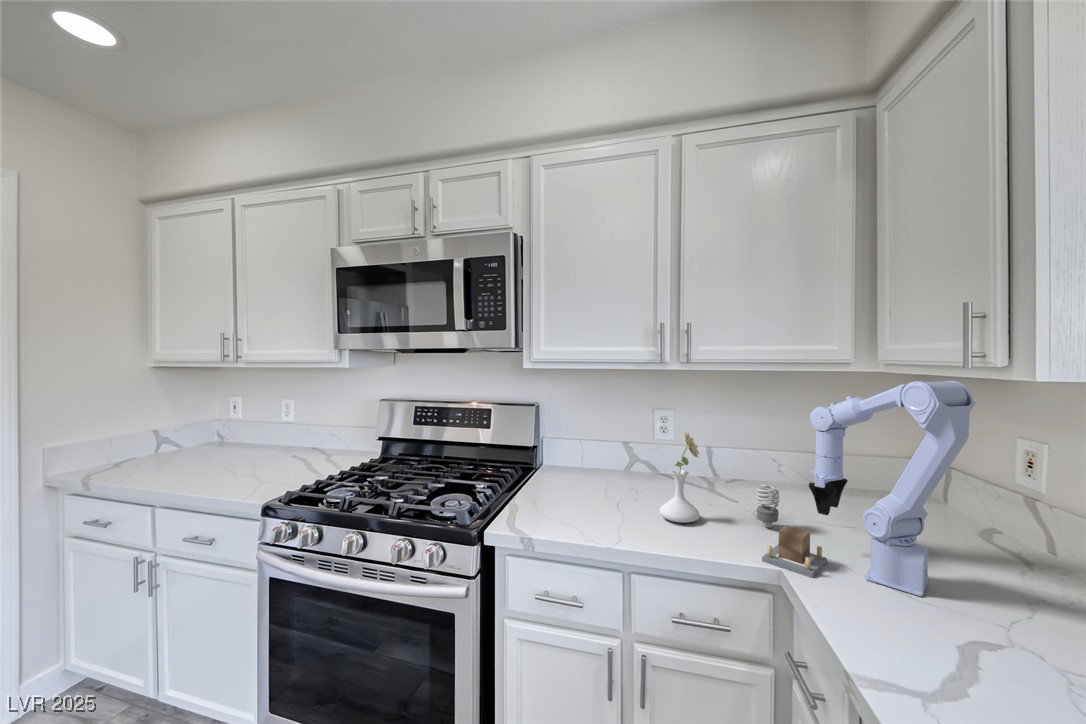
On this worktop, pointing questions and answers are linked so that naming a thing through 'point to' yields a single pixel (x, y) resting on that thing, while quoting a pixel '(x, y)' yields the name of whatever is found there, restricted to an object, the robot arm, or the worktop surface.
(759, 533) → the worktop surface
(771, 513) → the light bulb
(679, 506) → the flower in vase
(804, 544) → the walnut block
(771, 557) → the standoff board
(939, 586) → the worktop surface
